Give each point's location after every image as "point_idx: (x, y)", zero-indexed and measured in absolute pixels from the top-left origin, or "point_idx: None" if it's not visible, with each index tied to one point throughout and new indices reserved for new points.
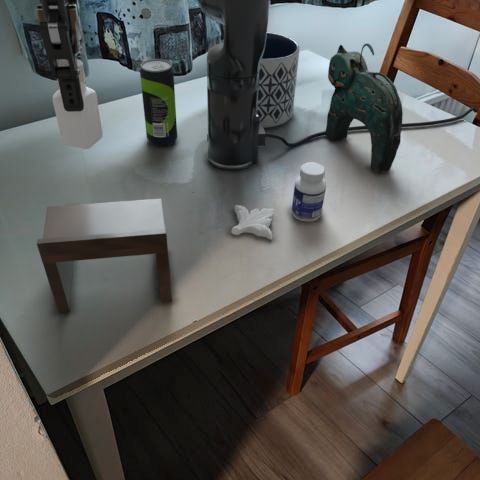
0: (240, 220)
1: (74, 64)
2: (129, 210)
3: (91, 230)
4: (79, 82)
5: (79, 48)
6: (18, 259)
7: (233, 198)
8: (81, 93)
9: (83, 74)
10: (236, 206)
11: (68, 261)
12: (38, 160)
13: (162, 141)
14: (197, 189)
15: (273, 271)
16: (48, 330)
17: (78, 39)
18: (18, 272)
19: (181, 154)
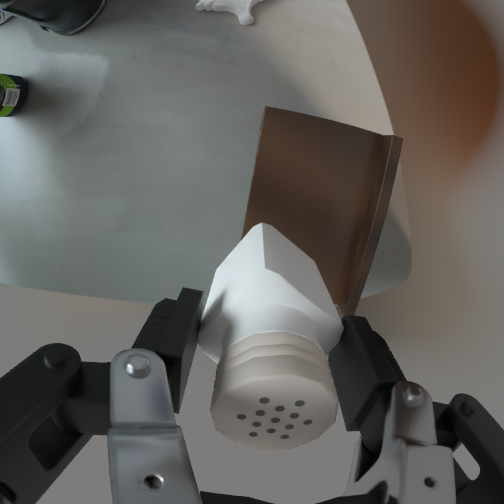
0: (232, 8)
1: (484, 427)
2: (285, 167)
3: (318, 236)
4: (382, 366)
5: (431, 452)
6: None
7: (166, 8)
8: (372, 342)
9: (299, 348)
10: (199, 5)
11: None
12: (33, 254)
13: (23, 94)
14: (128, 50)
15: (339, 11)
16: None
17: (417, 486)
18: None
19: (47, 70)
